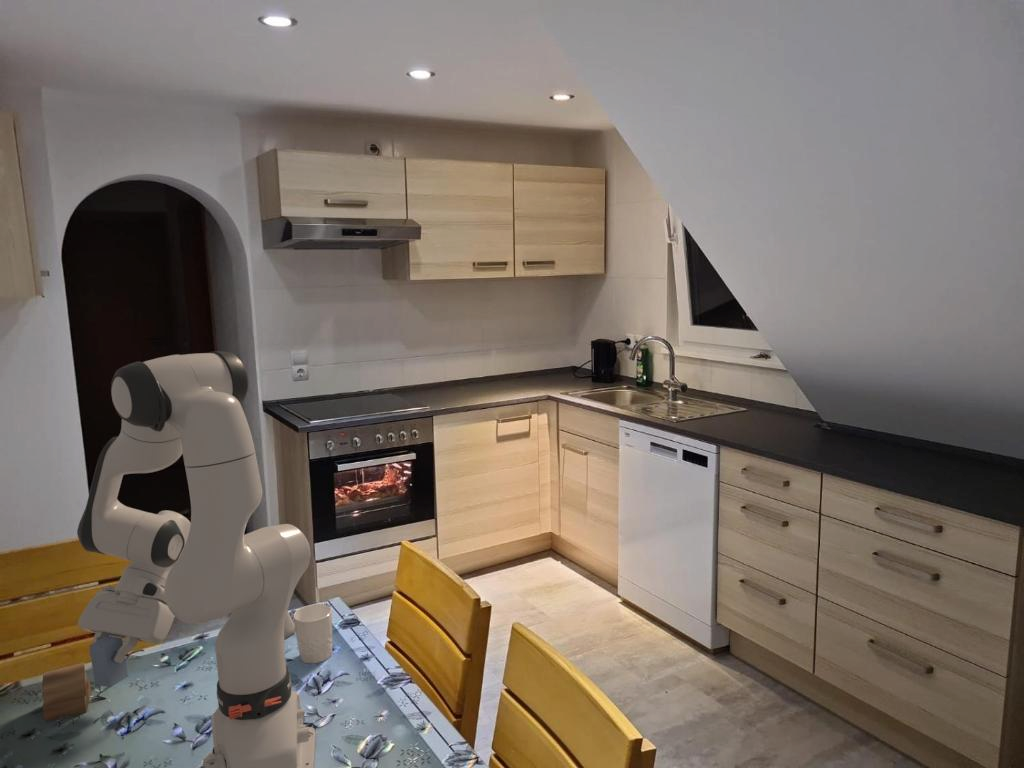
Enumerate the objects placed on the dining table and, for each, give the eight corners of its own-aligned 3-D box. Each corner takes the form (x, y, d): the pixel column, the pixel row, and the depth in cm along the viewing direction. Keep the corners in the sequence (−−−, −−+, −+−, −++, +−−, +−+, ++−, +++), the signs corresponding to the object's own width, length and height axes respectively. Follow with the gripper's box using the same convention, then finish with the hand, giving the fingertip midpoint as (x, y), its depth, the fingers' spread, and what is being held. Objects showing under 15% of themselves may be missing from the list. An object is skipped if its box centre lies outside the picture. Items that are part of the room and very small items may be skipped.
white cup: (289, 658, 162) (285, 615, 160) (318, 642, 168) (314, 600, 166) (314, 669, 157) (310, 625, 155) (342, 652, 164) (339, 609, 162)
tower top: (86, 695, 145) (84, 678, 145) (44, 707, 142) (41, 690, 141) (86, 678, 151) (84, 662, 151) (45, 689, 148) (43, 672, 147)
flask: (286, 642, 169) (282, 600, 167) (257, 640, 170) (253, 598, 168) (301, 626, 176) (298, 586, 174) (273, 624, 177) (269, 584, 175)
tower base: (86, 713, 145) (84, 697, 145) (44, 723, 143) (42, 706, 142) (91, 694, 152) (89, 678, 151) (51, 703, 149) (49, 687, 148)
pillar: (127, 676, 146) (122, 638, 145) (110, 687, 143) (104, 648, 141) (112, 673, 148) (106, 635, 147) (95, 684, 144) (88, 645, 143)
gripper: (91, 578, 153) (54, 647, 145) (167, 590, 145) (132, 662, 138) (113, 590, 158) (78, 656, 150) (188, 601, 150) (155, 672, 143)
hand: (105, 659), depth 144 cm, fingers closed on pillar, 4 cm apart
